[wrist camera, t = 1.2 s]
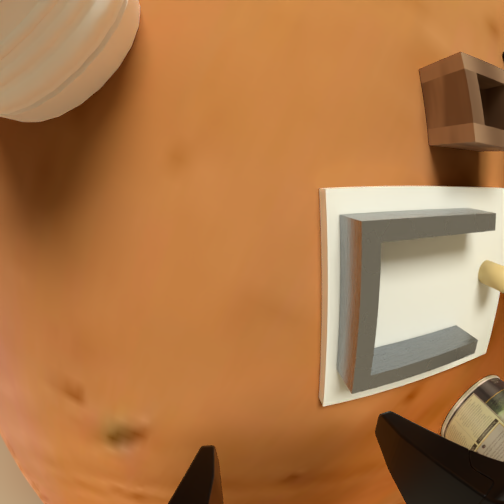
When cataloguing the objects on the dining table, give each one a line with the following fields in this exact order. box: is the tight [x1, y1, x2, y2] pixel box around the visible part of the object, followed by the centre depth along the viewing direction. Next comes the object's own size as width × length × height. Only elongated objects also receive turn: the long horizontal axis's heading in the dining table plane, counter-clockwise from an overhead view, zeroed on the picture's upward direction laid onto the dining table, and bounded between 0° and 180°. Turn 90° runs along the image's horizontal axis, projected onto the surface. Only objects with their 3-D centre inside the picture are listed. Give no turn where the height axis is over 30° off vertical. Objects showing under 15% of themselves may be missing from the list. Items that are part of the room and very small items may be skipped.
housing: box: [336, 208, 496, 394], centre depth 18 cm, size 11×11×3 cm
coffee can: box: [441, 375, 504, 462], centre depth 20 cm, size 10×10×14 cm
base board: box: [319, 186, 504, 406], centre depth 19 cm, size 18×16×4 cm
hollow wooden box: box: [419, 52, 504, 151], centre depth 16 cm, size 6×6×5 cm
